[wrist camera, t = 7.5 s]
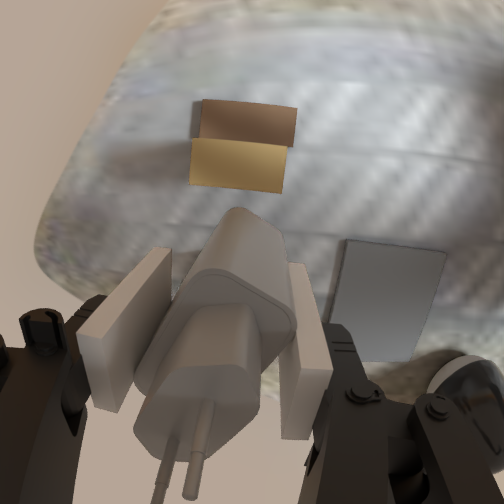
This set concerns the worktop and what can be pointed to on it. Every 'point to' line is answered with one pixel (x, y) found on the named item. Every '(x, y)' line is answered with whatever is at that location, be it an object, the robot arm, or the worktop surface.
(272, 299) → the power adapter
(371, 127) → the worktop surface
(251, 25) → the worktop surface
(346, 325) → the mat
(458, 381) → the pump dispenser
